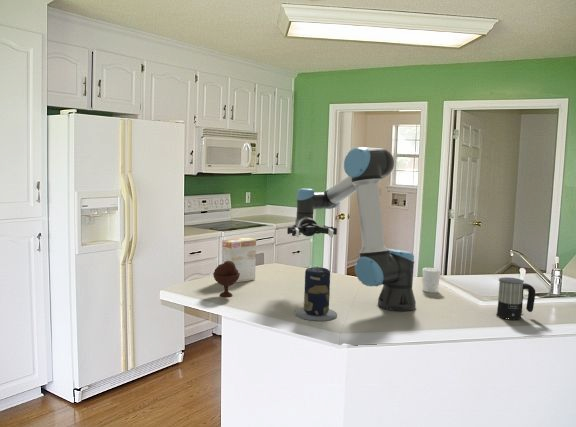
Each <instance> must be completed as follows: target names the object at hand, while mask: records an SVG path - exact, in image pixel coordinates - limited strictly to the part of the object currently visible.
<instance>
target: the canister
mask: <svg viewBox="0 0 576 427" xmlns="http://www.w3.org/2000/svg"><path fill="white" fill-rule="evenodd" d="M330 286H331V270H330V269H328V268H325V267H322V266H321V267H319V266H315V267H314V266H312V267H308V268H306V269H305V272H304V293H303V295H304V297H303V298H304V299H303V308H304V311H305V312H306V313H308V314H312V315H323V314H326V313H328V311H329V309H330V295H331V293H330V291H331V290H330V289H331V288H330Z"/></svg>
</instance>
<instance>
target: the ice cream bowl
mask: <svg viewBox="0 0 576 427" xmlns="http://www.w3.org/2000/svg"><path fill="white" fill-rule="evenodd" d="M214 270H215V271H214V272H213V273H212V274H213V278H214V281H216V282H217V284H219V285H220V286H222V287H223V291H222V292H221V293H220V294H219V297H220V298H221V297H222V298H232V297H233V295H234V294H233V293H231V292H230V291H229V287H231V286H233V285H234V284H236V283H235V282H236V281H237V280H238V278H239V275H240V273H238V270H237V269H236V267H235V264H234V263H233V262H232V261H225V263H223V264H222V263H221V264H219V265H218V266H216V268H215V269H214Z"/></svg>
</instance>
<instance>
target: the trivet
mask: <svg viewBox="0 0 576 427" xmlns="http://www.w3.org/2000/svg"><path fill="white" fill-rule="evenodd" d="M294 315H295V316H296V317H297V318H299V319H301V320H305V321H310V322H328V321H332V320H335V319H337V317H338V313H337V312H336V311H335V310H333V309H330V308H329V311H328V313H326V314H323V315H312V314H308V313H306V312H305V311H304V307H301V308H298V309H296V310H295V312H294Z"/></svg>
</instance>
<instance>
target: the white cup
mask: <svg viewBox="0 0 576 427" xmlns="http://www.w3.org/2000/svg"><path fill="white" fill-rule="evenodd" d="M440 276H441V269H440V268H435V267H423V268H422V277H421V278H422V281H421V282H422V288H421V290H422V291H424V292H426V293H432V294H434V293H437V292H439V285H440V278H441V277H440Z"/></svg>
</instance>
